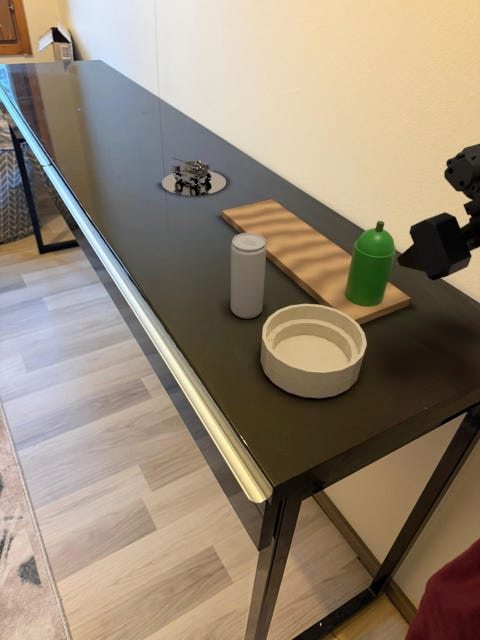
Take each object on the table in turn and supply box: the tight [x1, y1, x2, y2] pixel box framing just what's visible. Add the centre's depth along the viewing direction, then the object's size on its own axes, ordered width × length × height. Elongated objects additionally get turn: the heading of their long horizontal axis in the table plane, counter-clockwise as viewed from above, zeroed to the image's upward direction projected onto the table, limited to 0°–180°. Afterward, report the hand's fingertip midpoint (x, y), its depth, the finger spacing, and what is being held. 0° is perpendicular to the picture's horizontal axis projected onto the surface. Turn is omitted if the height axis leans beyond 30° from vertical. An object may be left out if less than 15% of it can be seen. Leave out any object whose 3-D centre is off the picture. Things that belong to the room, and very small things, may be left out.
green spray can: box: [345, 220, 397, 307], centre depth 66 cm, size 6×6×12 cm
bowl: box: [260, 303, 368, 399], centre depth 59 cm, size 13×13×5 cm
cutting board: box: [221, 198, 411, 326], centre depth 81 cm, size 40×12×2 cm, turn 29°
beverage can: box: [230, 233, 267, 320], centre depth 65 cm, size 5×5×12 cm
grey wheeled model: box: [161, 156, 227, 197], centre depth 105 cm, size 15×15×5 cm
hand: (423, 251), depth 58 cm, fingers open, 9 cm apart
